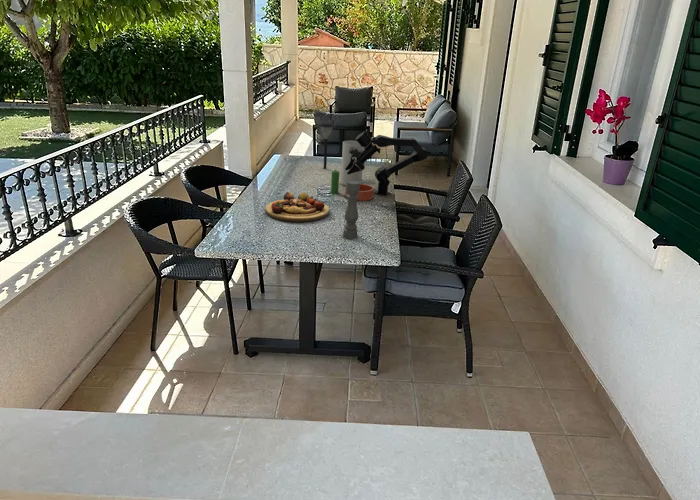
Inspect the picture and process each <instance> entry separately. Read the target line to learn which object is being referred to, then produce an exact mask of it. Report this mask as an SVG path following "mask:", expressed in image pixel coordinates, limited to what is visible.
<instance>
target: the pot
mask: <svg viewBox="0 0 700 500" xmlns="http://www.w3.org/2000/svg"><path fill="white" fill-rule="evenodd" d="M344 189H345V190H344V196H345V197H346V198H347V195H348V192H347V186H345V188H344ZM374 191H375V188H374V187H373V186H372V185H369V184H367V183H366V184H365V183H362V184H360V190H359V192H358V194H357V195H358V196H359V197H358V198H357V202H366V201H367V202H368V201H370V200H372V199H373V198H374V194H375V193H374Z"/></svg>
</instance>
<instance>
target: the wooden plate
mask: <svg viewBox="0 0 700 500" xmlns="http://www.w3.org/2000/svg"><path fill="white" fill-rule="evenodd" d="M264 210H265V213H266V214H267V215H268V216H269V217H272V218H274V219H277V220H281V221H285V222H311V221H312V222H313V221H318V220H321V219H323V218H326V217H327V216H328V215H329V214H330V207H329V206H328V205H327V204H325V202H324V201H319V200H318V199H317V198H314V196H313V195H309V194H308V193H306V192H305V191H303V192H301V193H300V194H298V196H297V198H295V195H294V194H293V192H292V191H290V190H288V191H286V192H285V193H284V195H283V199H278V200H274V201H271V202H269V203H267V204H266V206H265V209H264Z"/></svg>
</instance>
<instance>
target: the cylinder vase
mask: <svg viewBox="0 0 700 500" xmlns="http://www.w3.org/2000/svg"><path fill="white" fill-rule="evenodd" d="M351 147H353V148H356V149H358V150H359V151H360V150H363V149H365V147H362V146H361V145H360V144H359V143H358V142H357V141H356V140H344V141H342V152H341V153H342V154H341V155H342V156H341V173H340V174H341V175H340V176H341V177H340V183H341V185H343V186H345V187H346V186H347V181H358V182H360V184H363V170H361V169H360V170H361V171H358V172H355V173H352V174H349V175H348V174H347V172H348V171H349V170H350V169H349V170H345V168H346V167H347V165H348V164H349V162H350V157H351V155H352V154H350V153H349V152H348V151H349V150H350V148H351Z"/></svg>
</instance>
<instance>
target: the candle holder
mask: <svg viewBox="0 0 700 500" xmlns="http://www.w3.org/2000/svg"><path fill="white" fill-rule="evenodd" d="M359 190H360V182H358V181H347V192H348V195H347V197H346V198H347V206H346V210H345V213H344V220H345V224H344V228H343V235H342V236H343V238H344V239H347V240H355V239H357V238H358V225H357V224H356V223H357V221H358V220H359V213H358V207H357V203H358V201H357V198H358V197H359V196H358V195H357V194H358V192H359Z"/></svg>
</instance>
